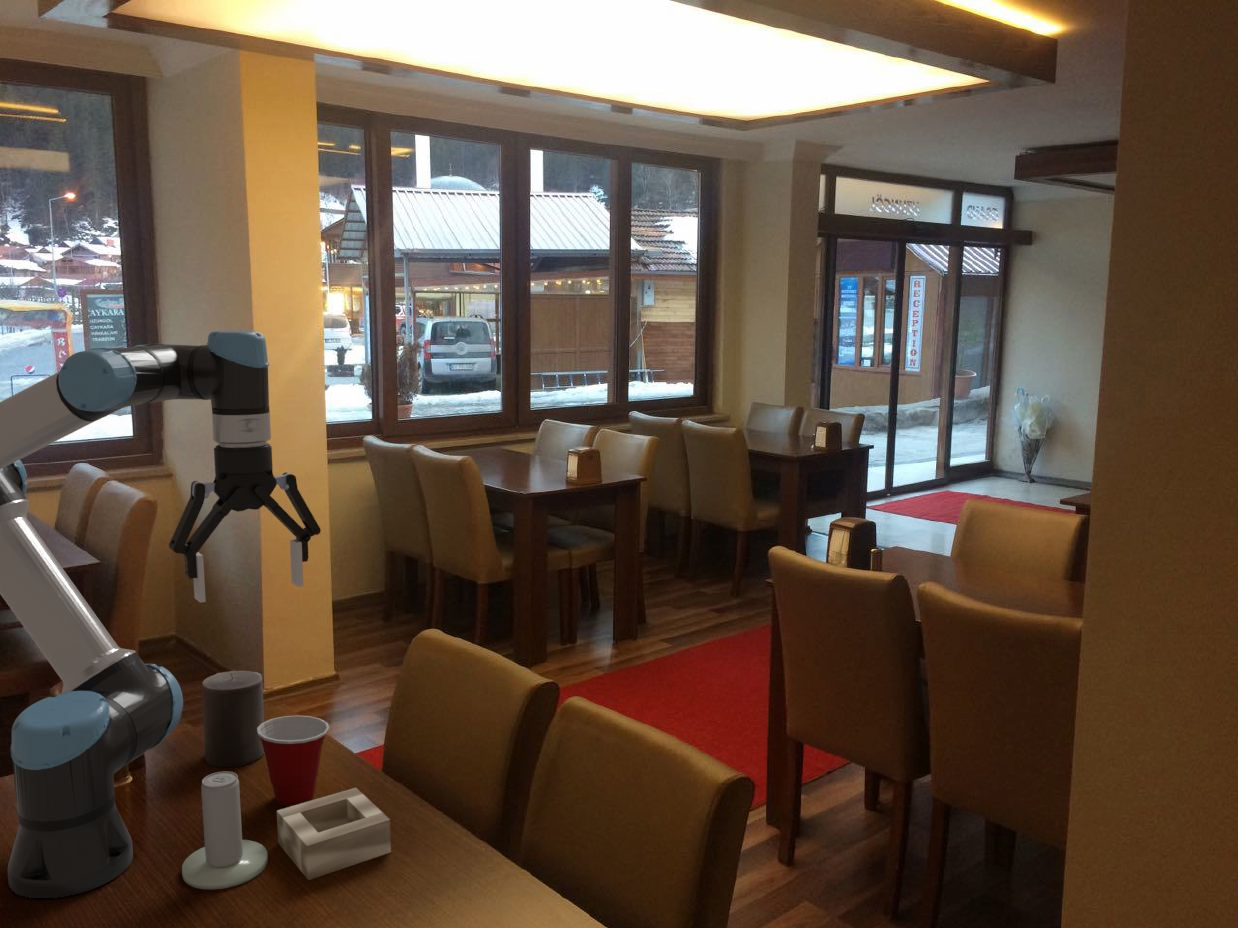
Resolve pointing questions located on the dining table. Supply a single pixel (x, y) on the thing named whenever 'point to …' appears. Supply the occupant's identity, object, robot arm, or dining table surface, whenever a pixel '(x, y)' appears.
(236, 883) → the pale green cabochon
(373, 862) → the dining table surface
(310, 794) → the plastic cup
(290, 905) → the dining table surface
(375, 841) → the birch sleeve
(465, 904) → the dining table surface
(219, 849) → the beverage can
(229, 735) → the pillar candle
